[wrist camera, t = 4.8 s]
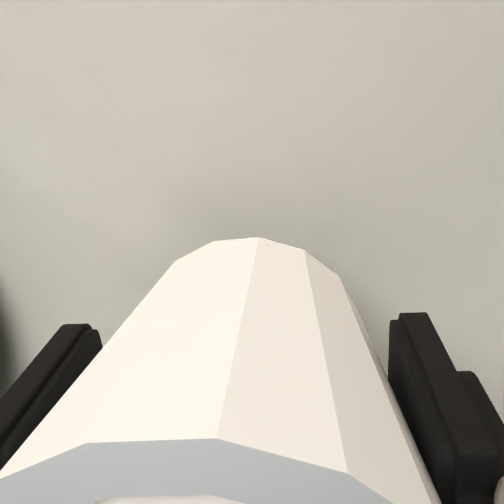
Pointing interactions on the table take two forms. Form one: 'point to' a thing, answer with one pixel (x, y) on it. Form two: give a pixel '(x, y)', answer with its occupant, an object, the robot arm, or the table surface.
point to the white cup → (229, 397)
